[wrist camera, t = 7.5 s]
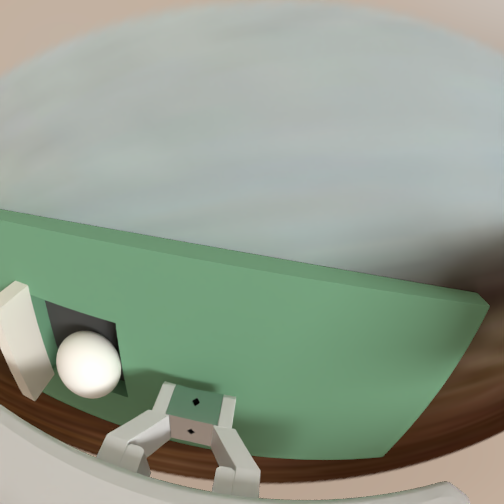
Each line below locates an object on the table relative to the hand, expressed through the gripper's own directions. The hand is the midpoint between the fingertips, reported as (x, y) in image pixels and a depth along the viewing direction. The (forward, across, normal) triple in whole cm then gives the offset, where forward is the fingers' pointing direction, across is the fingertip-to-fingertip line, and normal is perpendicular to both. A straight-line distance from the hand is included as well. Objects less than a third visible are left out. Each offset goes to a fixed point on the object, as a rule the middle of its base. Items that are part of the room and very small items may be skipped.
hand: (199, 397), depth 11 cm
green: (+2, 0, 0) cm, 2 cm away
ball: (0, +5, 0) cm, 5 cm away
